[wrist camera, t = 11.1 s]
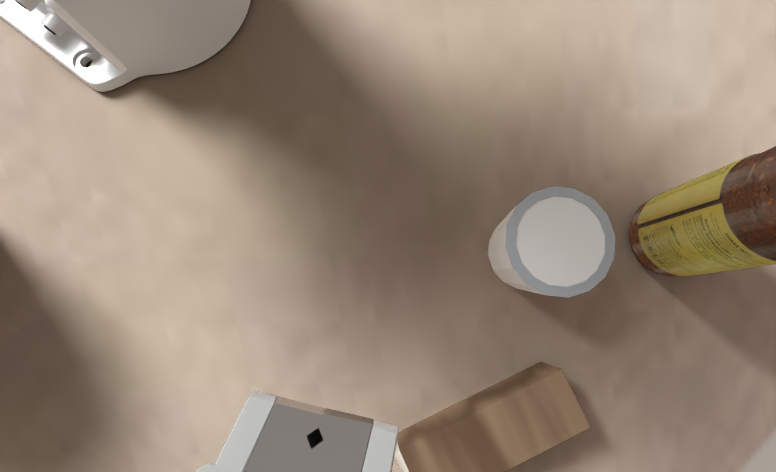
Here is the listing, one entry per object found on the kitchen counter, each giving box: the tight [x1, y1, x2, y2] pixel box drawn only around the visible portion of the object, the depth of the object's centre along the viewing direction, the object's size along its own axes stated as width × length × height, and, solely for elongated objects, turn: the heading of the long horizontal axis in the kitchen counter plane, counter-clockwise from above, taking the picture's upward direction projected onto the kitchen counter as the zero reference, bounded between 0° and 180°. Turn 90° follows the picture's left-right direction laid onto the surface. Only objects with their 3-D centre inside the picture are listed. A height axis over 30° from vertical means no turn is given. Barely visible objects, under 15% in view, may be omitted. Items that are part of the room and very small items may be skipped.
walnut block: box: [395, 362, 591, 472], centre depth 33 cm, size 4×4×12 cm
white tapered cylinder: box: [488, 186, 615, 298], centre depth 34 cm, size 7×7×7 cm
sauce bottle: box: [629, 146, 776, 276], centre depth 28 cm, size 6×6×20 cm
